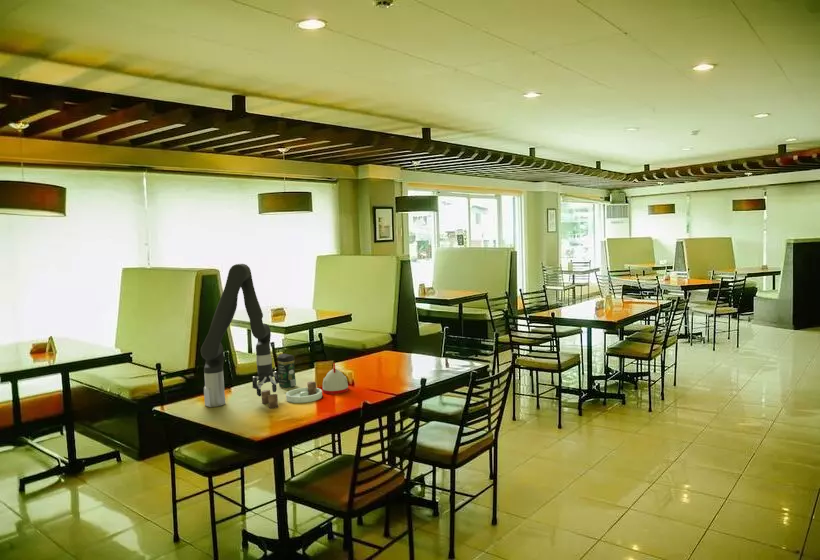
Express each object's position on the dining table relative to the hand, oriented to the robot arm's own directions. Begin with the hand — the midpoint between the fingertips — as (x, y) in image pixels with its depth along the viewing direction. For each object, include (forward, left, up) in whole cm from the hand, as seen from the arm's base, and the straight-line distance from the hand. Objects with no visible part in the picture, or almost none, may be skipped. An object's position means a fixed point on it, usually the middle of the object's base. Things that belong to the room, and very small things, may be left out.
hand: (267, 394), depth 290 cm
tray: (+16, -9, -4) cm, 19 cm away
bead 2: (+22, -9, -3) cm, 24 cm away
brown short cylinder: (-3, -10, -4) cm, 11 cm away
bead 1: (-1, 0, -4) cm, 4 cm away
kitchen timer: (+35, -11, -5) cm, 37 cm away
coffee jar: (+24, +19, -5) cm, 31 cm away
